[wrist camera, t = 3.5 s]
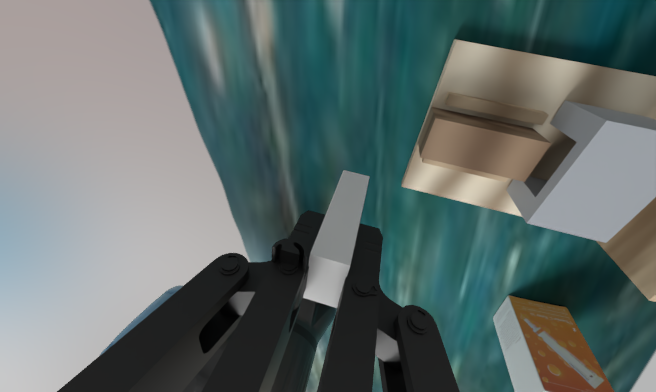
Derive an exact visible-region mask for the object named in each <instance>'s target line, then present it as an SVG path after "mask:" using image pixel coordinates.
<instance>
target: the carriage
mask: <svg viewBox="0 0 656 392" xmlns="http://www.w3.org/2000/svg"><path fill="white" fill-rule="evenodd" d="M550 124H551V125H553V126H554V127H555V128H557V129H558V130H560V131H561V132H563V133H564V134H566V135H567V136H569V137H570V138H571V139H573V140H574V141H576V142H577V143H576V144H575V146H574V147H573V148H572V150H571V151H570V152H569V154H568V155H567V156H566V158H565V159H564V160H563V162H562V163H561V164H560V166H559V167H558V168H557V170H556V171H555V172H554V174H553V175H552V176H551V178H550V179H549V180H548V181H547V180H543V179H539V178H534V177H530V176H529V177H528V178H527V179H526V181H525V182H523V181H519V180H514V179H513V181H512V182H511V184H510V185H509V187H508V188H507V192H508V194H509V195H510V197H511V199H512V200H513V202H514V203H515V205H516V207H517V208H518V210H519V211H520V213H521V215H522V216H523V218H524V220H525V221H526V223H528V224H532V225H536V226H540V227H544V228H548V229H552V230H556V231H560V232H564V233H568V234H572V235H576V236H580V237H584V238H588V239H592V240H596V241H600V242H604V243H607V242H608V241H609V240H610V239H611V238H612V237H613V236H614V235H615V234H617V233H618V232H619V231H620V230H621V229H622V228H623V227H624V226H625V225H626V224H627V223H628V222H629V221H631V220H632V219H633V218H634V217H635V216H636V215H637V214H638V213H639V212H640V211H641V210H642V209H643V208H645V207H646V206H647V205H648V204H649V203H650V202H651V201H652V200H653V199H654V198H655V197H656V120H655V119H652V118H650V117H645V116H640V115H635V114H630V113H625V112H620V111H615V110H610V109H606V108H601V107H596V106H591V105H586V104H581V103H576V102H571V101H566V100H565V101H564V103H563V104H562V106H561V108H560V109H559V111H558V112H557V114H556V115H555V117H554V118H553V120H552V121H551V123H550Z"/></svg>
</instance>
